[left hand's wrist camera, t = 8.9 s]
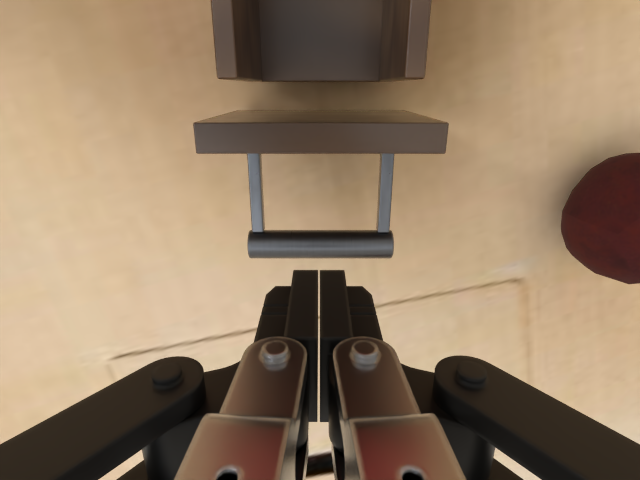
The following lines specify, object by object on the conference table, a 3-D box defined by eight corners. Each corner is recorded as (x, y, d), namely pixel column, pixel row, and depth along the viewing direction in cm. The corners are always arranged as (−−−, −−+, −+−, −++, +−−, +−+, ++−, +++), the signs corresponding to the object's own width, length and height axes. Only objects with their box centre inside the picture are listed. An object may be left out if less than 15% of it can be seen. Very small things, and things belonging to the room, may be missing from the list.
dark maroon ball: (676, 207, 27) (791, 246, 21) (570, 274, 29) (644, 329, 22) (629, 118, 25) (739, 129, 19) (518, 196, 27) (583, 231, 20)
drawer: (396, 226, 27) (431, 288, 18) (244, 226, 27) (210, 288, 18) (427, -220, 19) (511, -458, 11) (214, -220, 19) (131, -459, 11)
